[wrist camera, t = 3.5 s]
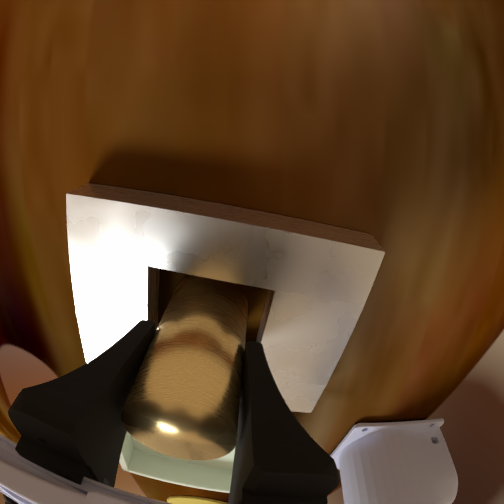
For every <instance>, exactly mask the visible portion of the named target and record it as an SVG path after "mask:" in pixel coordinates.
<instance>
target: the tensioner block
mask: <svg viewBox="0 0 504 504" xmlns="http://www.w3.org/2000/svg"><path fill="white" fill-rule="evenodd" d="M66 205H67V231H68V246H69V258H70V268H71V277H72V286H73V293H74V300H75V307H76V313H77V319H78V324H79V330H80V335H81V340H82V345H83V350H84V354H85V359H86V363H88V362H90V361H91V360H93V359H94V358H96V357H97V356H98V355H100V354H101V353H102V352H104V351H105V350H107V349H108V348H109V347H110V346H112V345H113V344H114V343H115V342H117V341H118V340H119V339H120V338H121V337H122V336H124V335H125V334H126V333H127V332H128V331H129V330H130V329H131V328H133V327H134V326H135V325H136V324H137V323H138V322H139V321H140V320H142V319H143V320H147V321H152V322H155V332H156V330H157V328H158V305H159V276H160V269H164V270H169V271H174V272H179V273H184V274H189V275H194V276H200V277H205V278H210V279H215V280H221V281H226V282H231V283H237V284H242V285H248V286H253V287H259V288H264V289H269V291H268V295H267V299H266V303H265V307H264V311H263V315H262V318H261V322H260V326H259V330H258V334H257V338H256V341H255V342H259V343H261V344H262V345H263V349H264V353H265V356H266V359H267V362H268V365H269V368H270V371H271V373H272V375H273V378H274V380H275V383H276V385H277V387H278V389H279V391H280V393H281V395H282V397H283V398H284V400H285V402H286V404H287V405H288V407H289V409H290V410H291V411H294V412H307V413H311V412H312V410H313V408H314V407H315V405H316V403H317V401H318V399H319V398H320V396H321V394H322V392H323V390H324V388H325V386H326V385H327V383H328V381H329V379H330V377H331V375H332V373H333V371H334V369H335V367H336V365H337V363H338V361H339V359H340V357H341V355H342V353H343V351H344V349H345V347H346V345H347V343H348V340H349V338H350V336H351V334H352V332H353V330H354V327H355V325H356V323H357V321H358V319H359V316H360V314H361V312H362V309H363V307H364V305H365V302H366V300H367V298H368V295H369V293H370V290H371V288H372V285H373V283H374V281H375V278H376V275H377V273H378V270H379V268H380V265H381V262H382V260H383V257H384V254H385V251H384V250H383V248H382V247H381V246H380V244H379V243H378V242H377V241H376V239H375V238H374V237H373V236H372V234H368V233H363V232H359V231H354V230H350V229H345V228H341V227H336V226H332V225H327V224H322V223H318V222H313V221H308V220H303V219H299V218H294V217H289V216H284V215H279V214H274V213H269V212H263V211H258V210H253V209H248V208H242V207H237V206H232V205H226V204H220V203H215V202H209V201H203V200H198V199H192V198H186V197H180V196H174V195H167V194H161V193H155V192H148V191H142V190H135V189H129V188H122V187H115V186H108V185H100V184H93V183H87V184H85V185H83V186H81V187H78V188H76V189H74V190H72V191H70V192H68V193H67V194H66Z"/></svg>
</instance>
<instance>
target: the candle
mask: <svg viewBox="0 0 504 504" xmlns="http://www.w3.org/2000/svg"><path fill="white" fill-rule="evenodd" d="M167 502H168V503H172V504H228V503H225V502H222V501H218V500H214V499H209V498H202V497H196V496H182V495H180V496H171V497H169V498H167Z"/></svg>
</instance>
